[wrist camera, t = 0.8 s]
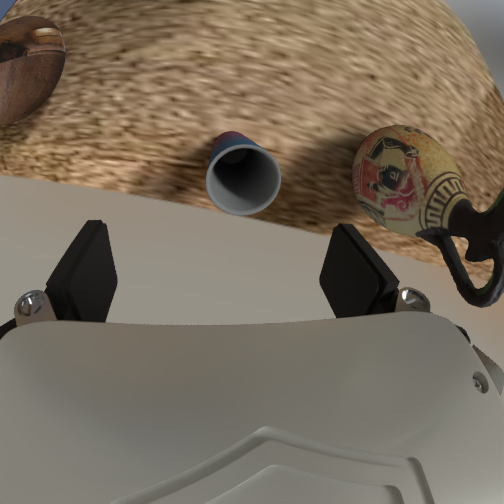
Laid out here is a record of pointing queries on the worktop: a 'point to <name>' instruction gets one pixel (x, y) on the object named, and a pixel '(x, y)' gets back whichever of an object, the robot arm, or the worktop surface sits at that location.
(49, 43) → the wooden sphere
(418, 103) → the worktop surface
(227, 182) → the cup
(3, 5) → the blue square tile
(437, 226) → the ceramic jug
